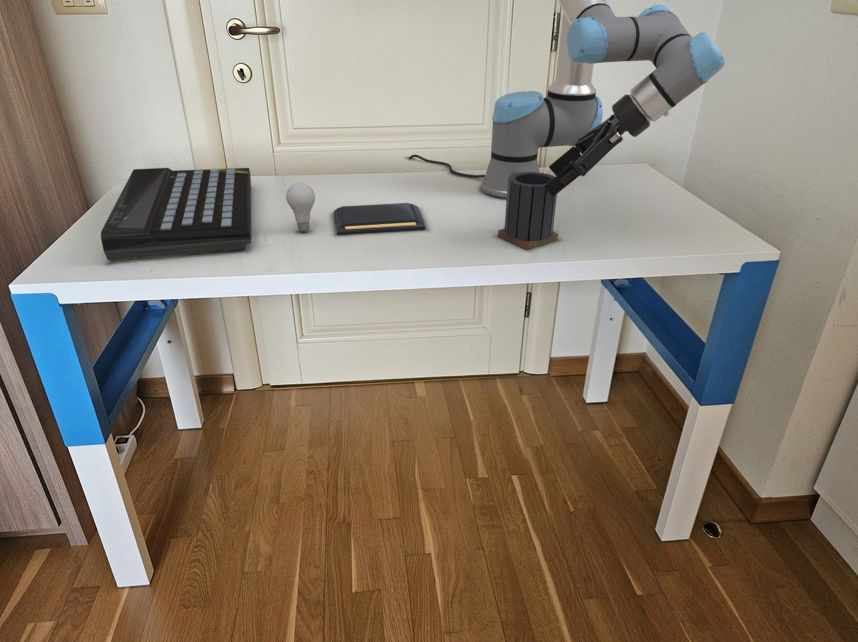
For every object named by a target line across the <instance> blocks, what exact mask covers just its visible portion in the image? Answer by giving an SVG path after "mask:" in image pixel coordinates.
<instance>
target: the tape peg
mask: <svg viewBox="0 0 858 642" xmlns="http://www.w3.org/2000/svg"><path fill="white" fill-rule="evenodd" d="M504 229H505V227H504V228H502V229H498V231H497V237H498V238H500V239H503V240H504V241H506V242H509V243H511V244H514V245H515V246H518V247H521V248H522V249H525V250H531V249H534V248H537V247H540V246H544V245H546V244H550V243H553V242H555V241H558V236H559V233H558V232H555V231H553V233H552V235H551V236H550V237H549V238H546V239H543V240H539V241H529V240H527V241H525V240H519V239H517V238H516V239H515V238H512V237H510V236H508V235H507V234H506V233H505V231H504Z"/></svg>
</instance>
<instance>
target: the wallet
mask: <svg viewBox="0 0 858 642" xmlns="http://www.w3.org/2000/svg"><path fill="white" fill-rule="evenodd" d="M333 216H334V222H335V229H336V235H338V236H339V235H340V236H341V235H342V236H343V235H355V234H356V235H358V234H359V235H360V234H373V233H375V234H376V233H391V232H392V233H393V232H406V231H407V232H408V231H425V230H426V225H425V221H424V219H423V216H422V214H421V212H420V209H419V206H417V205H416V204H414V203H410V202H399V203H397V202H396V203H380V204H379V203H378V204H362V205H360V204H359V205H345V206H343V205H342V206H340V207H337V208H336V209H334V210H333Z"/></svg>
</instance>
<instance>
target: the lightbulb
mask: <svg viewBox="0 0 858 642" xmlns="http://www.w3.org/2000/svg"><path fill="white" fill-rule="evenodd" d="M285 199H286V202H287V204H288V205H289V207H290V209H291V210H292V212H293V215H294V219H295V221H296V226H297V230H298V231H299V232H301V233H307V231H309V230H310V221H311V211H312V208H313V206H314V204H315V202H316V193H315V191H314V189H313V188H312V186H311V185H310V184H308V183H306V182H304V181H303V182H302V181H301V182H300V181H298V182H295V183H292V184H290V186H289V187H288V188H287V190H286V193H285Z"/></svg>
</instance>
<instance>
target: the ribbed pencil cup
mask: <svg viewBox="0 0 858 642" xmlns="http://www.w3.org/2000/svg"><path fill="white" fill-rule="evenodd" d="M554 177H555V175H552V174H549V173H545V172H540V171H539V172H534V173H533V172H522V173H521V172H520V173H516V174H512V175H511V176H510V177H508V188H507V198H506V202H505V203H506V204H505V217H504V228H505V229H504V228H503V229H504V231H505V233H506V234H507V235H508V236H510V237H512V238H515V239H516V238H517V239H519V240H525V241H527V240H529V241H539V240H543V239H546V238H549V237H550V236H551V235H552V233H553V232H554V223H555V217H556V215H555V214H556V206H557V198H558V193H557V194H556V195H555V196H554V197H552V196H551V195H550V194H549V192H548V191H547V190H546V189H545V188H544V185H546V184H547V183H548V182H549V181H551V180H552V179H553V178H554Z"/></svg>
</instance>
